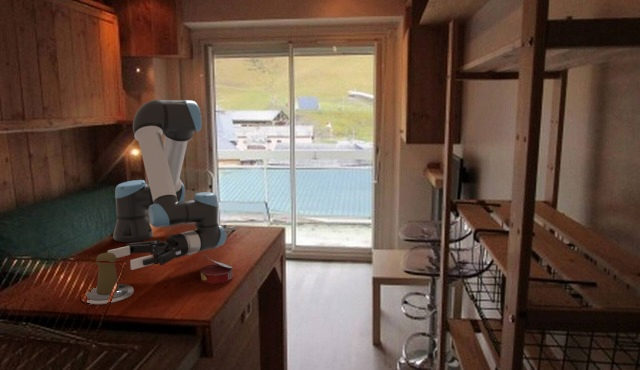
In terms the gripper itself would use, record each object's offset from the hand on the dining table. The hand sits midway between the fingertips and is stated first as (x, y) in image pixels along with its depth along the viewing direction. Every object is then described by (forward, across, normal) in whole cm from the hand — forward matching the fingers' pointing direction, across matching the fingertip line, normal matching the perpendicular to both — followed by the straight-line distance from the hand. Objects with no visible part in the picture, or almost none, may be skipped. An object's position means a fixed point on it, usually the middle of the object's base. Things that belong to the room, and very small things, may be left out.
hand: (119, 259), depth 136 cm
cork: (+4, 0, -8) cm, 9 cm away
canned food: (-25, -13, -10) cm, 30 cm away
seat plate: (+4, 0, -9) cm, 10 cm away
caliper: (-62, +26, -10) cm, 68 cm away
